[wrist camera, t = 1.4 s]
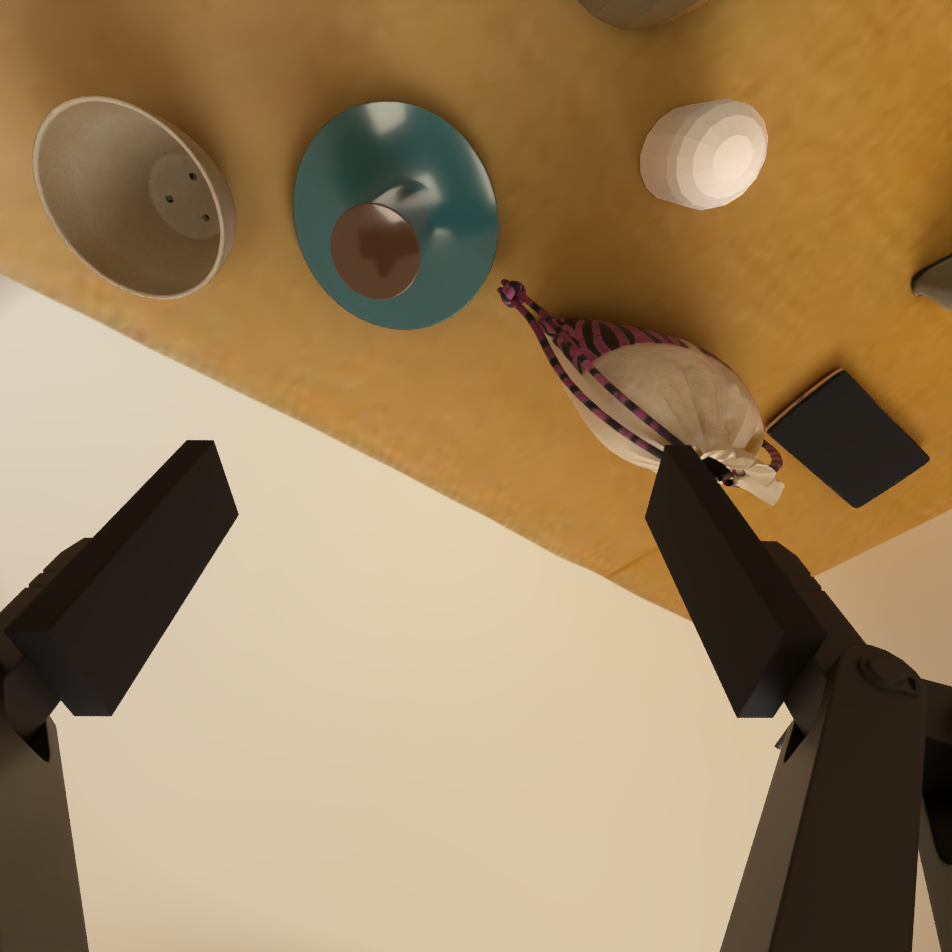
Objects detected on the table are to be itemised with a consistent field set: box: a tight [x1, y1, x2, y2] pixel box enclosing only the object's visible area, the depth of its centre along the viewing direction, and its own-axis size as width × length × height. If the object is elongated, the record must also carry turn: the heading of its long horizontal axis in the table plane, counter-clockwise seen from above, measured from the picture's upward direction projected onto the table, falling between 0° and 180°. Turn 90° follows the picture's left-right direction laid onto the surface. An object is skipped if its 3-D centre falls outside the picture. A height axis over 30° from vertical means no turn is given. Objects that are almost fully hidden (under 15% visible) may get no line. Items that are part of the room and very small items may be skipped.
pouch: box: [497, 279, 785, 506], centre depth 32 cm, size 25×8×19 cm, turn 69°
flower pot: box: [32, 95, 236, 300], centre depth 30 cm, size 10×10×7 cm
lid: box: [293, 100, 499, 330], centre depth 30 cm, size 14×14×10 cm
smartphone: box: [765, 368, 930, 508], centre depth 44 cm, size 7×1×15 cm
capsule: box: [640, 98, 768, 210], centre depth 29 cm, size 5×5×8 cm
